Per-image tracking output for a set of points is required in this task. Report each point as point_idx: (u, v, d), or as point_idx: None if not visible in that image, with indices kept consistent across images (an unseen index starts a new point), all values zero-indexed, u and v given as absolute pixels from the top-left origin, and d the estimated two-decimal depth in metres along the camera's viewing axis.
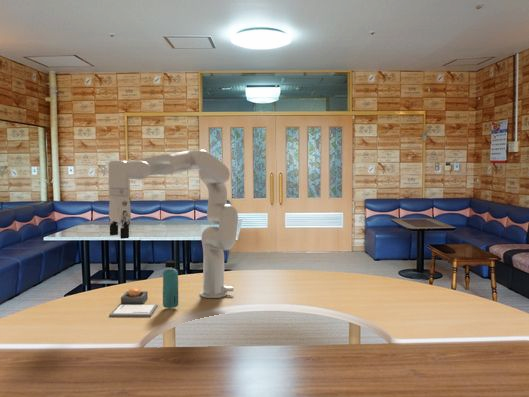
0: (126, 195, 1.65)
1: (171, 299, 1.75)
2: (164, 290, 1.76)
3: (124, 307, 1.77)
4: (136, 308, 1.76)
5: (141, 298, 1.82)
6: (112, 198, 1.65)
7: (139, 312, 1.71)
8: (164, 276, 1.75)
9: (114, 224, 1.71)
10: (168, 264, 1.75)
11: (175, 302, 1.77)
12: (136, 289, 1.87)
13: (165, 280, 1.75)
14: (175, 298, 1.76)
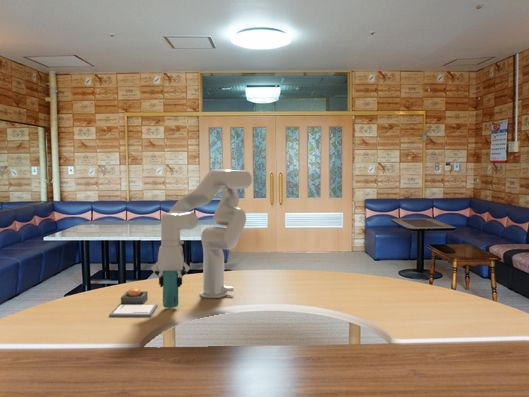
0: None
1: (171, 299, 1.75)
2: (164, 290, 1.76)
3: (124, 307, 1.77)
4: (136, 308, 1.76)
5: (141, 298, 1.82)
6: (169, 249, 1.74)
7: (139, 312, 1.71)
8: (164, 276, 1.75)
9: (162, 275, 1.78)
10: None
11: (175, 302, 1.77)
12: (136, 289, 1.87)
13: (165, 280, 1.75)
14: (175, 298, 1.76)
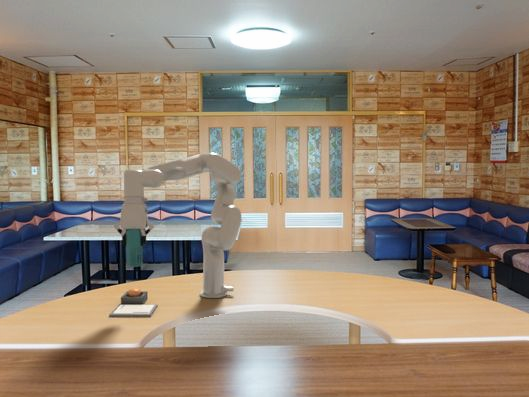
0: None
1: (134, 258, 1.71)
2: (127, 248, 1.71)
3: (124, 307, 1.77)
4: (136, 308, 1.76)
5: (141, 298, 1.82)
6: (131, 206, 1.70)
7: (139, 312, 1.71)
8: (127, 234, 1.71)
9: (125, 234, 1.73)
10: None
11: (139, 261, 1.72)
12: (136, 289, 1.87)
13: (128, 238, 1.70)
14: (138, 257, 1.72)
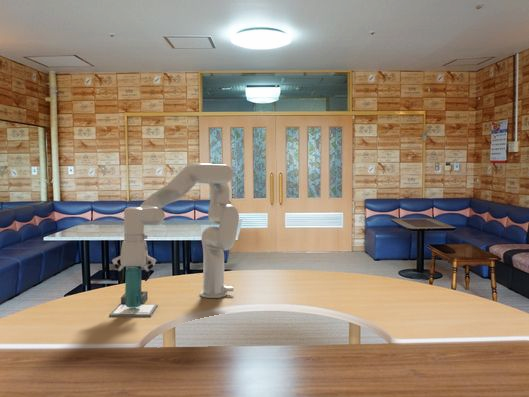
0: None
1: (133, 298, 1.72)
2: (126, 289, 1.72)
3: (124, 307, 1.77)
4: (136, 308, 1.76)
5: None
6: (131, 244, 1.71)
7: (139, 312, 1.71)
8: (126, 275, 1.72)
9: (122, 269, 1.74)
10: None
11: (138, 301, 1.73)
12: None
13: (127, 279, 1.72)
14: (138, 297, 1.73)
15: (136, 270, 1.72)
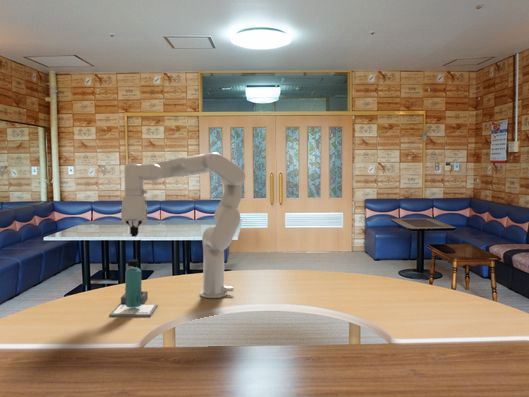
0: None
1: (133, 299, 1.72)
2: (126, 289, 1.72)
3: (124, 307, 1.77)
4: (136, 308, 1.76)
5: None
6: (132, 198, 1.81)
7: (139, 312, 1.71)
8: (126, 275, 1.72)
9: (133, 224, 1.84)
10: (130, 263, 1.72)
11: (138, 301, 1.73)
12: None
13: (127, 279, 1.72)
14: (138, 297, 1.73)
15: (136, 270, 1.72)
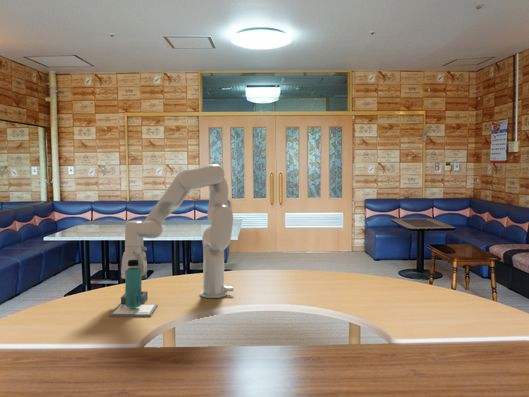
0: None
1: (133, 299, 1.72)
2: (126, 289, 1.72)
3: (124, 307, 1.77)
4: (136, 308, 1.76)
5: None
6: (132, 255, 1.83)
7: (139, 312, 1.71)
8: (126, 275, 1.72)
9: None
10: (130, 263, 1.72)
11: (138, 301, 1.73)
12: None
13: (127, 279, 1.72)
14: (138, 297, 1.73)
15: (136, 270, 1.72)
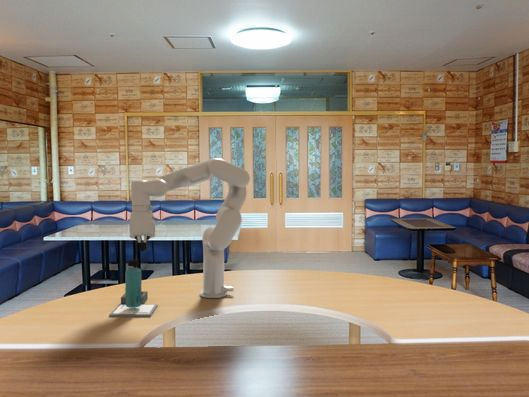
0: None
1: (133, 299, 1.72)
2: (126, 289, 1.72)
3: (124, 307, 1.77)
4: (136, 308, 1.76)
5: None
6: (139, 214, 1.84)
7: (139, 312, 1.71)
8: (126, 275, 1.72)
9: None
10: (130, 263, 1.72)
11: (138, 301, 1.73)
12: None
13: (127, 279, 1.72)
14: (138, 297, 1.73)
15: (136, 270, 1.72)
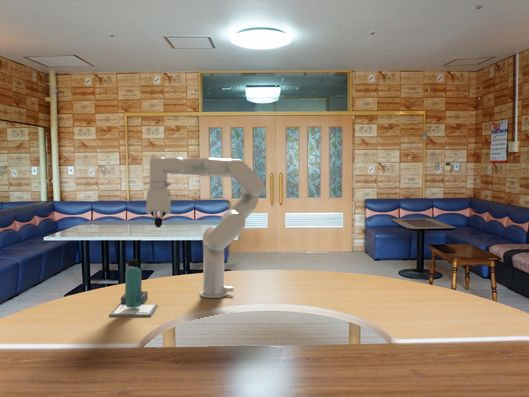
0: None
1: (133, 299, 1.72)
2: (126, 289, 1.72)
3: (124, 307, 1.77)
4: (136, 308, 1.76)
5: None
6: (156, 190, 1.88)
7: (139, 312, 1.71)
8: (126, 275, 1.72)
9: (157, 215, 1.91)
10: (130, 263, 1.72)
11: (138, 301, 1.73)
12: None
13: (127, 279, 1.72)
14: (138, 297, 1.73)
15: (136, 270, 1.72)
